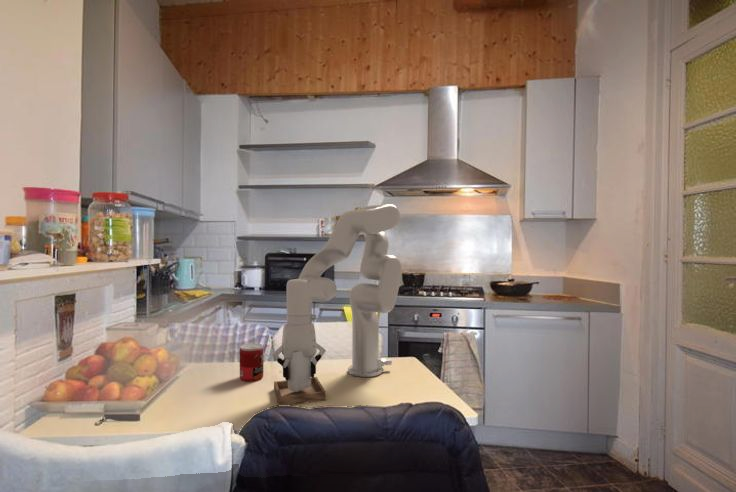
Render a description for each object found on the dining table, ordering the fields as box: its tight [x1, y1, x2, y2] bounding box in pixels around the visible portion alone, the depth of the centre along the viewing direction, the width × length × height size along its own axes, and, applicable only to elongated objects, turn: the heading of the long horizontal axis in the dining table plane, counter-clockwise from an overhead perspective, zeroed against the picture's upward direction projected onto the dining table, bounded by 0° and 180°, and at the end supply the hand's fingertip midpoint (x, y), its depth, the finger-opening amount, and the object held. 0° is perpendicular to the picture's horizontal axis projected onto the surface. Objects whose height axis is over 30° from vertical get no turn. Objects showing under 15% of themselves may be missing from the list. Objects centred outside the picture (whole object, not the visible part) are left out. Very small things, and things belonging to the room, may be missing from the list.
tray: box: [273, 376, 327, 406], centre depth 122 cm, size 14×14×2 cm
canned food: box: [239, 342, 264, 383], centre depth 136 cm, size 8×8×11 cm
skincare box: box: [288, 351, 312, 392], centre depth 122 cm, size 6×4×12 cm
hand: (299, 377), depth 122 cm, fingers closed on skincare box, 7 cm apart
